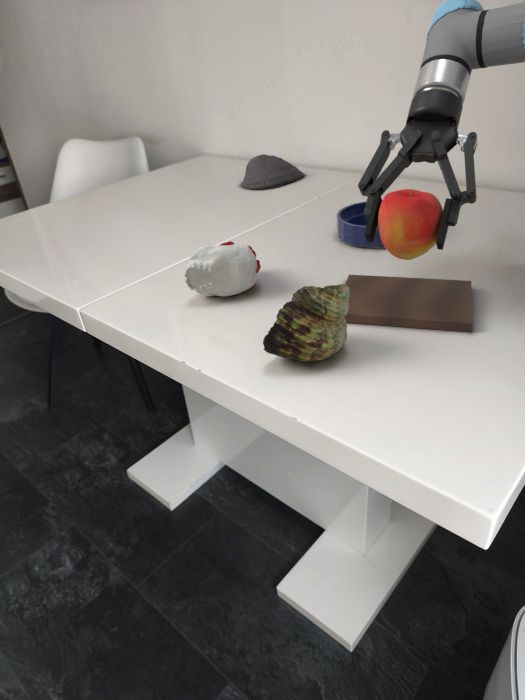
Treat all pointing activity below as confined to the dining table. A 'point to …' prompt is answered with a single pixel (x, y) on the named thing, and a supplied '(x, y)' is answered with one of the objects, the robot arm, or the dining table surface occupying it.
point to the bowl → (355, 226)
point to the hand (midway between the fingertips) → (403, 241)
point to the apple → (409, 222)
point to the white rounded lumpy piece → (222, 269)
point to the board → (410, 302)
